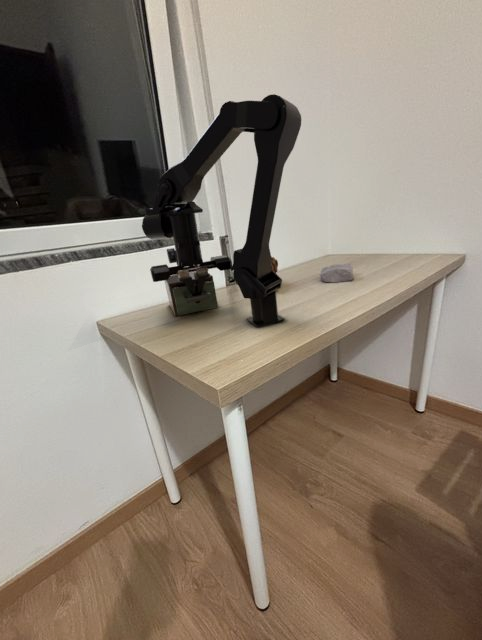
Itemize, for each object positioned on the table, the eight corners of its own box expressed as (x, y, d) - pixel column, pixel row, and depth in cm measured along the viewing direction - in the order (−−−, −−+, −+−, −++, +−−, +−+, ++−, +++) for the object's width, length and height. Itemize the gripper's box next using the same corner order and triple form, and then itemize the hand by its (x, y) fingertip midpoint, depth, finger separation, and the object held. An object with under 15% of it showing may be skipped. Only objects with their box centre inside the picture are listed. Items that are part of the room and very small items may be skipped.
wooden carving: (282, 292, 91) (280, 257, 87) (267, 293, 91) (264, 259, 87) (277, 281, 106) (275, 251, 102) (264, 282, 106) (261, 253, 102)
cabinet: (217, 307, 84) (212, 275, 80) (175, 316, 81) (168, 283, 77) (207, 298, 96) (202, 270, 92) (169, 305, 93) (163, 276, 89)
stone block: (322, 288, 96) (355, 279, 93) (319, 273, 94) (352, 264, 91) (322, 282, 106) (351, 273, 103) (318, 268, 105) (349, 259, 102)
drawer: (222, 311, 76) (218, 284, 74) (181, 320, 74) (175, 292, 71) (207, 298, 91) (203, 275, 89) (172, 305, 89) (167, 281, 86)
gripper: (216, 230, 79) (224, 290, 86) (142, 240, 74) (157, 303, 81) (228, 231, 69) (237, 298, 76) (144, 243, 65) (161, 313, 71)
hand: (197, 303), depth 76 cm, fingers closed, pressing on drawer
